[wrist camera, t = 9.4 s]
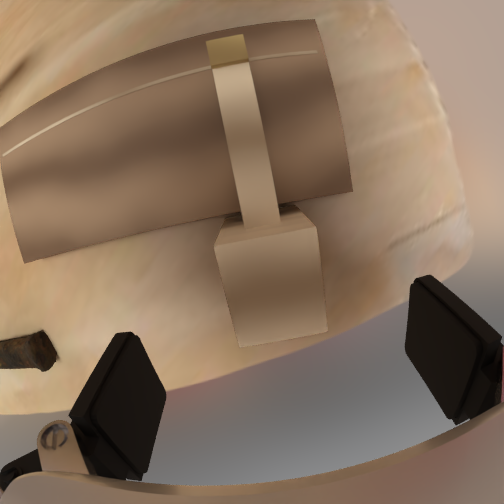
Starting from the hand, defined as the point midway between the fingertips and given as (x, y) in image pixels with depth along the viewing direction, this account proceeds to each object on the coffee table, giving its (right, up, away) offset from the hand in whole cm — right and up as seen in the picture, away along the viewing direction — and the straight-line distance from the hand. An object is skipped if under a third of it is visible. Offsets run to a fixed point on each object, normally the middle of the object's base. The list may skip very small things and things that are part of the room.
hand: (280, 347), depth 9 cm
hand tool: (-31, -9, +17) cm, 36 cm away
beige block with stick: (-1, +8, +11) cm, 14 cm away
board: (-8, +11, +10) cm, 17 cm away
